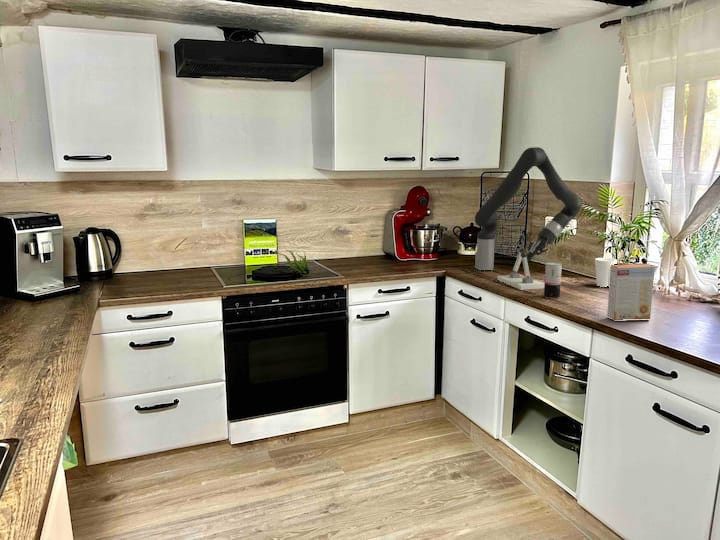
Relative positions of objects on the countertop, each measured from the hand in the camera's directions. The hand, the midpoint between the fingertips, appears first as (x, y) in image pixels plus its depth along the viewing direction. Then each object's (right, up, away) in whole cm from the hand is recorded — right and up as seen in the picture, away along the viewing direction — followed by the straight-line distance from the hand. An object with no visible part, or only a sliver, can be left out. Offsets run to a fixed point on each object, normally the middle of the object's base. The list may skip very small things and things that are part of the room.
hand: (526, 259), depth 256 cm
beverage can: (+6, -17, -17) cm, 25 cm away
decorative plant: (-118, -7, +39) cm, 124 cm away
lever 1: (-2, -6, +13) cm, 15 cm away
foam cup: (+37, -13, +2) cm, 39 cm away
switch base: (0, -12, +9) cm, 14 cm away
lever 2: (+1, -8, +2) cm, 8 cm away
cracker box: (+23, -24, -51) cm, 61 cm away
